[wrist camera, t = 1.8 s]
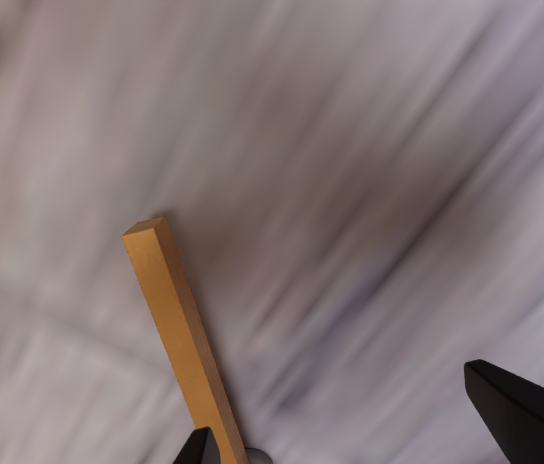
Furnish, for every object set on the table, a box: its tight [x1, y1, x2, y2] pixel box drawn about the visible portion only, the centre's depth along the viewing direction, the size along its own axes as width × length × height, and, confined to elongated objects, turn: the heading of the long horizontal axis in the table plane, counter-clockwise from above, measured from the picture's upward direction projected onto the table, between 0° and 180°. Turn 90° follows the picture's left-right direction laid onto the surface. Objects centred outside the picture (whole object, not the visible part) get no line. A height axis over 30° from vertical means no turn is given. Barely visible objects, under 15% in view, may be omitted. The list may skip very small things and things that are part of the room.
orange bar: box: [121, 216, 249, 464], centre depth 19 cm, size 20×3×2 cm, turn 13°
